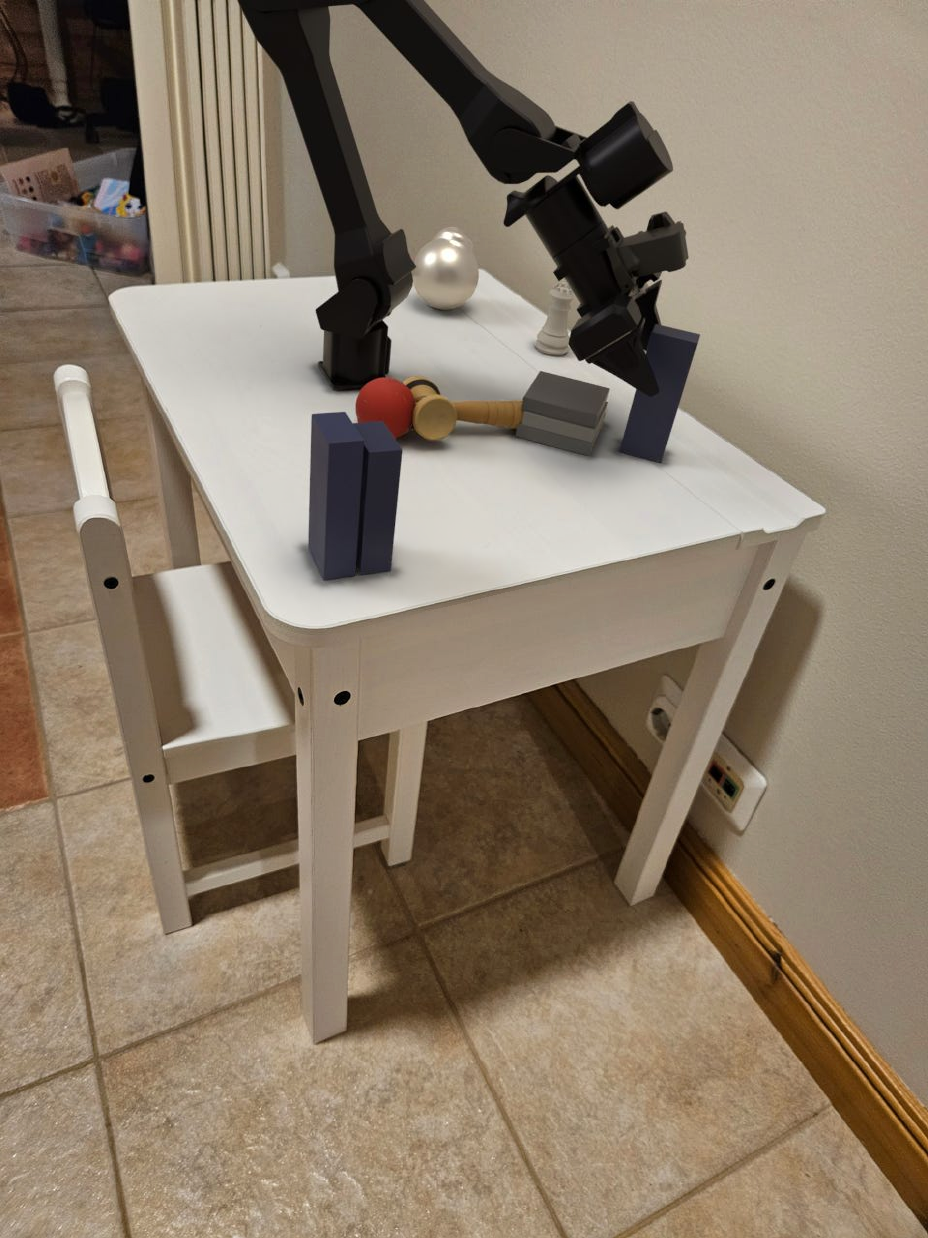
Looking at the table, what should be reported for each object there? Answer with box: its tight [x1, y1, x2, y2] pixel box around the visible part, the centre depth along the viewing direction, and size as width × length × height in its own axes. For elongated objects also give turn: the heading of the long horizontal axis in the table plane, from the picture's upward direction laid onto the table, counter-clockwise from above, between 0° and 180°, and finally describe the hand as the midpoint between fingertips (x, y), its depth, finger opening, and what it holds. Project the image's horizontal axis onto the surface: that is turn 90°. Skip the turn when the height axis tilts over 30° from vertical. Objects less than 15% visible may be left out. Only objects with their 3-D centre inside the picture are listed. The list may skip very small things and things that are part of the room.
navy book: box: [619, 324, 701, 463], centre depth 89 cm, size 3×4×13 cm, turn 73°
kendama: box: [354, 375, 524, 441], centre depth 89 cm, size 8×6×18 cm
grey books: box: [515, 370, 611, 457], centre depth 93 cm, size 8×8×4 cm
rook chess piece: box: [534, 282, 577, 357], centre depth 110 cm, size 4×4×8 cm
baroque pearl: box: [412, 226, 480, 311], centre depth 116 cm, size 9×10×10 cm
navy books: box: [307, 411, 404, 581], centre depth 68 cm, size 6×4×12 cm
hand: (661, 377), depth 88 cm, fingers open, 9 cm apart
